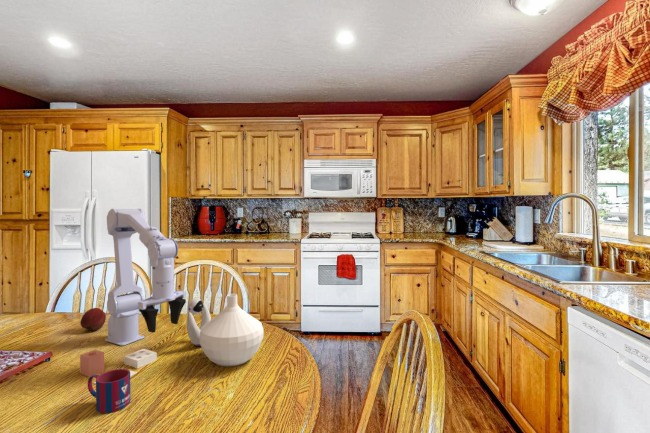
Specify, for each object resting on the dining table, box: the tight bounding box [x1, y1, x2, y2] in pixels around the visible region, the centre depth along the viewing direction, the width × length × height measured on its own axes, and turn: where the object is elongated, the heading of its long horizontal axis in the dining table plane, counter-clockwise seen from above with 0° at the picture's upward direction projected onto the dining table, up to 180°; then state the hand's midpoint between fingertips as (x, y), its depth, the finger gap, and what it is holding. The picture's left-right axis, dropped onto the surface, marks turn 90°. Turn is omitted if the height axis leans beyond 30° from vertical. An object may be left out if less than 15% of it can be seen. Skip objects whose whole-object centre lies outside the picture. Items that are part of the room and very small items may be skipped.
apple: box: [80, 307, 107, 332], centre depth 125 cm, size 7×8×8 cm
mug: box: [87, 368, 131, 414], centre depth 80 cm, size 7×10×7 cm
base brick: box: [123, 348, 158, 369], centre depth 101 cm, size 6×6×2 cm
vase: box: [200, 293, 265, 367], centre depth 103 cm, size 18×18×19 cm
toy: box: [186, 297, 212, 347], centre depth 113 cm, size 11×7×15 cm, turn 168°
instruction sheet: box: [93, 370, 138, 385], centre depth 91 cm, size 6×8×1 cm
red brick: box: [79, 349, 105, 377], centre depth 95 cm, size 4×4×5 cm
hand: (163, 327), depth 101 cm, fingers open, 7 cm apart
